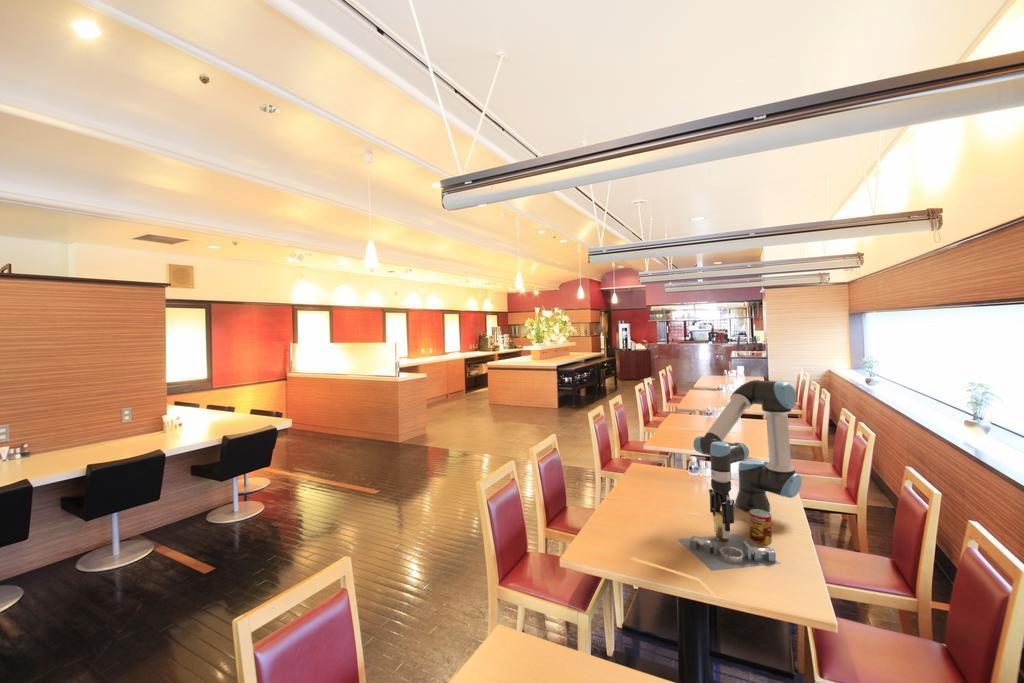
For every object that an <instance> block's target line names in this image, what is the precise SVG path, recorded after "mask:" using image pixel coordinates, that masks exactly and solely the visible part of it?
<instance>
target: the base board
mask: <svg viewBox="0 0 1024 683" xmlns="http://www.w3.org/2000/svg"><path fill="white" fill-rule="evenodd" d="M698 537H699V539H703V540H706V539H707V540H711V541H712V542H714V540H715V538H716V535H710V536H698ZM677 541H679V542H680V543H681V544H682V545H683V546H684V547H685V548H686V549H687V550H688V551H689V552H690V553H692V554H693V555H694V556H695V557H696V558H697V559H698V560H699V561H701V563H703V564H704V565H705V566H706V567H707V568H708V569H709V570H711V572H712V571H721V570H731V569H741V568H743V569H744V568H753V567H761V566H771V565H772V566H773V565H781V564H782V563H781V562H780V561H778V560H777V559H776V562H768V561H767V559H766V558H765V557H764V556H761V557H762V562H756V561H754V560H753V559H752V558H751V561H748V560H747V559H746V558H745V561H744V562H743V563H731V562H728V561H725V560H723V559H722V558H721V557H720V548H722V547H733V548H736V549H739V550H741V551H742V552H743V541H746V542H747V544H748V545H749V546H751V547H757V548H759V547H758V546H756V545H755V544H753V543H752V542H750V540H748V539H747V538H744V537H743V536H742V535H740V533H739V534H738V533H733V534H732V533H730V538H729V540H728V541H726V542H723V541H719V552H718V554H717V556H714V550H712V551H711V553H710V554H708V553H704V552H703V547H701V546H699V547H698V549H697V550H693V549H690V537H687V538H677ZM724 554H726V555H729V556H732V557H740V556H739V555H736V554H733V553H724Z"/></svg>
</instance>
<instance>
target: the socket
mask: <svg viewBox="0 0 1024 683" xmlns="http://www.w3.org/2000/svg"><path fill="white" fill-rule="evenodd" d="M724 553H733V554H736V555H739V556H740V557H732V556H729V555H726V554H724ZM720 557H721V558H722V559H723V560H725V561H728V562H731V563H743V562H744V561H745V555H744V553H743V552H742V551H741V550H739V549H736V548H733V547H722V548H720Z"/></svg>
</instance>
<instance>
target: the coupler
mask: <svg viewBox="0 0 1024 683" xmlns="http://www.w3.org/2000/svg"><path fill="white" fill-rule="evenodd" d="M722 522H724V520H723V514H722V509H721V510H717V511H715V524H716V532H715V536H716V537H719V541H723V542H726V541H728V540H729V538H725V539H724V538H723V530H722Z"/></svg>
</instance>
